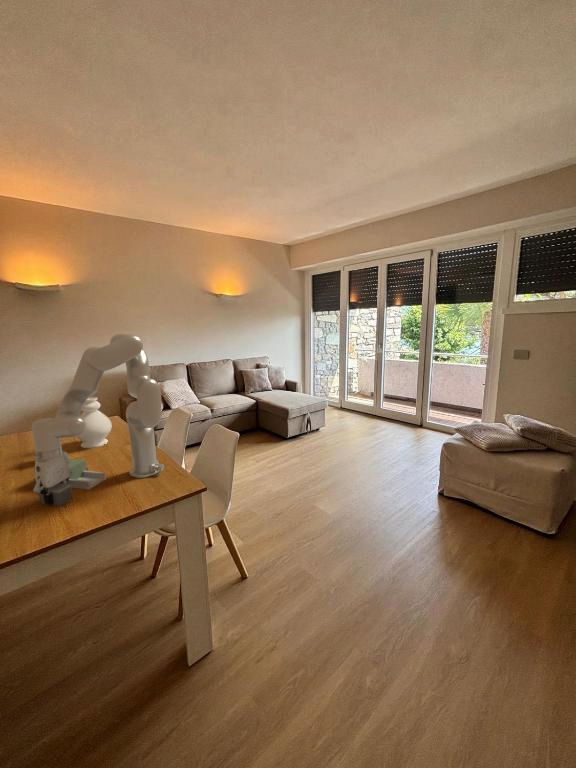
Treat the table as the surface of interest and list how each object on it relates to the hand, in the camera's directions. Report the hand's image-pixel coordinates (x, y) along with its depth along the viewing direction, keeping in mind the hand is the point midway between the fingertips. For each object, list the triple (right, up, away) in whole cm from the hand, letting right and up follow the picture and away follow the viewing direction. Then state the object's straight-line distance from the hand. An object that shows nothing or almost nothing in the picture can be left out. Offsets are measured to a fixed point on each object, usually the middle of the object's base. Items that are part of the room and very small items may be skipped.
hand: (56, 499), depth 120 cm
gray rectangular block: (0, -1, 0) cm, 1 cm away
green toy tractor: (-4, +2, +15) cm, 16 cm away
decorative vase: (-19, +10, +57) cm, 61 cm away
